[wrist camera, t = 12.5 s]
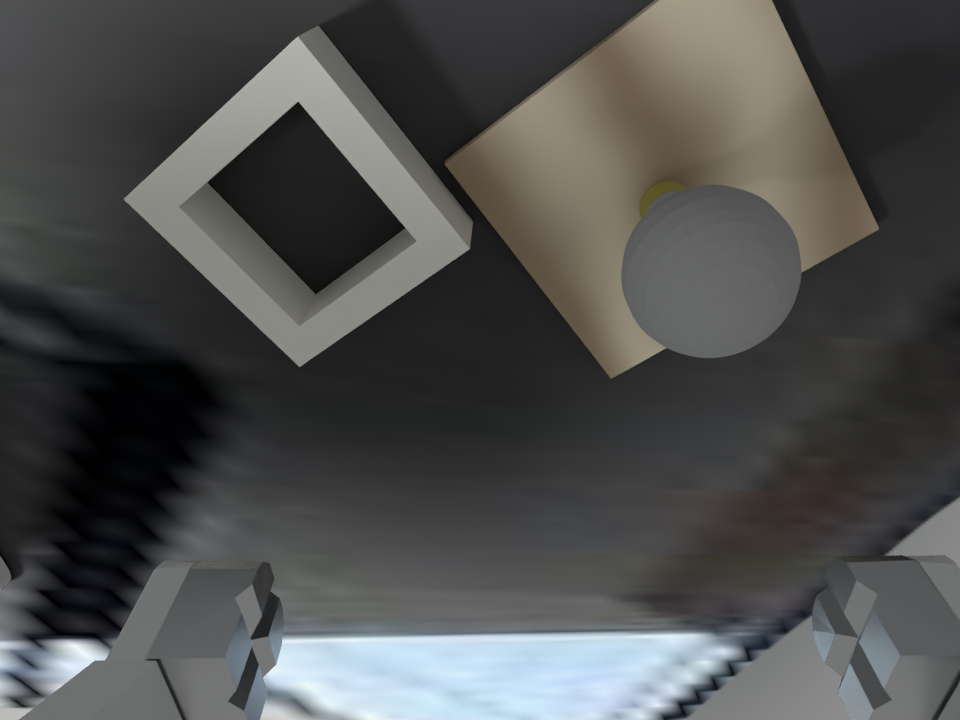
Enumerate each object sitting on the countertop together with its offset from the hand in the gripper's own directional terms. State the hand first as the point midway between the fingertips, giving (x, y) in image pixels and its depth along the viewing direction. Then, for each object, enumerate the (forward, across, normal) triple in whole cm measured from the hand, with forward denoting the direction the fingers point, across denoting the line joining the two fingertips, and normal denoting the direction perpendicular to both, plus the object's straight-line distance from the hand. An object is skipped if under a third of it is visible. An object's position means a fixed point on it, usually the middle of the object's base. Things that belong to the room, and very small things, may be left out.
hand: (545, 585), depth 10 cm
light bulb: (+21, -6, +1) cm, 22 cm away
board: (+21, -6, +1) cm, 22 cm away
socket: (+22, +8, +1) cm, 23 cm away
